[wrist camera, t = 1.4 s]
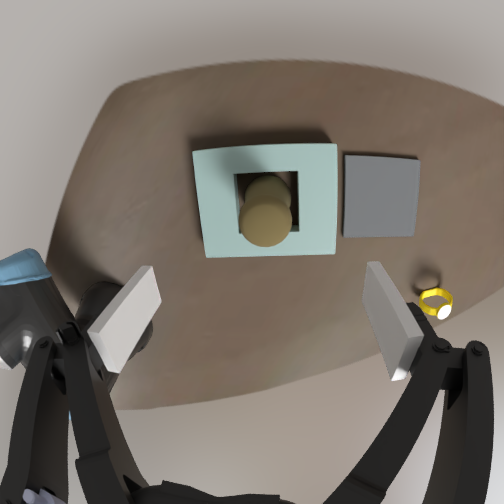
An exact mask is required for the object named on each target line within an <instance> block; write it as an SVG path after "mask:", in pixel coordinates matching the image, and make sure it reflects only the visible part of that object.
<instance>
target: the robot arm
mask: <svg viewBox="0 0 504 504" xmlns="http://www.w3.org/2000/svg"><path fill="white" fill-rule="evenodd" d="M51 276H52V274H51V272H49V271H48V269H47V267H46V265H45V264H44V262H43V260H42V258H41V256H40V254H39V253H38V252H37V251H36V250H34V249H30V248H29V249H25V250H23V251H20V252H18V253H15V254H13V255H11V256H9V257H7V258H5V259H3V260H1V261H0V368H4V369H9V370H12V369H13V368H14V367H15V366H16V365H17V364H18V363H20V362H21V363H22V365H23V366H24V367H25V369H26V372H25V376H24V379H23V383H22V386H21V390H20V394H19V398H18V402H17V407H16V411H15V416H14V421H13V427H12V433H11V440H10V447H9V455H8V465H7V468H6V471H5V474H4V476H3V479H2V482H1V485H0V504H68V494H69V493H68V461H67V459H68V458H67V456H68V453H67V451H68V424H69V420H71V421H72V426H73V431H74V436H75V440H76V444H77V448H78V452H79V456H80V457H79V459H76V460H75V465H76V470H77V473H78V476H79V480H80V483H81V486H82V489H83V492H84V495H85V498H86V500H87V503H88V504H295V503H293V502H289V501H286V500H282V499H280V495H265V494H244V495H236V496H227V497H216V496H213V495H210V494H207V493H205V492H202V491H200V490H197V489H195V488H192V487H190V486H186V485H182V484H177V483H173V482H169V481H164V480H163V481H162V484H161V485H155V486H149V484H148V483H147V482H146V480H145V479H144V478H143V477H142V475H141V473H140V471H139V469H138V467H137V465H136V463H135V461H134V458H133V456H132V454H131V452H130V449H129V447H128V445H127V442H126V440H125V438H124V435H123V432H122V430H121V427H120V424H119V421H118V419H117V416H116V413H115V410H114V407H113V404H112V401H111V398H110V392H111V390H112V388H113V386H114V384H115V382H116V380H117V378H118V376H119V374H120V372H121V370H122V368H123V367H124V365H125V363H126V362H127V361H128V360H130V359H131V358H132V357H133V356H134V355H135V354H136V353H137V352H140V351H141V350H142V349H144V348H145V346H146V345H147V343H148V342H149V340H150V338H151V336H152V332H153V326H152V321H151V318H152V317H153V315H154V313H155V312H156V310H157V309H158V307H159V305H160V304H161V298H160V294H159V291H158V287H157V283H156V279H155V275H154V271H153V267H152V266H141V267H140V268H139V270H138V271H137V272H136V273H135V274H134V275H133V276H132V278H131V279H130V280H129V281H128V282H127V283H126V284H125V286H124V287H123V288H122V287H120V286H118V285H116V284H113V283H108V282H100V283H96V284H94V285H92V286H91V287H90V288H89V289H88V290H87V291H86V292H85V293H84V295H83V296H82V299H81V302H80V306H79V308H78V310H77V313H76V315H75V318H74V316H73V314H72V313H71V311H70V310H69V308H68V306H67V305H66V303H65V301H64V299H63V298H62V296H61V294H60V292H59V290H58V288H57V287H56V285H55V283H54V281H53V279H52V277H51ZM362 303H363V305H364V308H365V310H366V313H367V315H368V318H369V320H370V323H371V325H372V328H373V331H374V333H375V336H376V339H377V341H378V344H379V347H380V350H381V352H382V355H383V358H384V361H385V364H386V367H387V370H388V373H389V376H390V379H391V381H394V380H400V379H405V378H406V376H407V374H408V372H409V370H410V373H411V375H412V377H411V379H410V381H409V383H408V385H407V387H406V389H405V391H404V393H403V394H402V396H401V398H400V400H399V402H398V403H397V405H396V407H395V408H394V410H393V412H392V413H391V415H390V417H389V418H388V420H387V422H386V423H385V425H384V426H383V428H382V430H381V431H380V433H379V434H378V436H377V437H376V438H375V440H374V441H373V443H372V444H371V446H370V447H369V449H368V450H367V451H366V453H365V454H364V455H363V457H362V458H361V459H360V461H359V462H358V463H357V465H356V466H355V467H354V469H353V470H352V471H351V472H350V473H349V475H348V476H347V477H346V478H345V479H344V480H343V482H342V483H341V484H340V485H339V486H338V487H337V489H336V490H335V491H334V492H333V493H332V494H331V495H330V496H329V497H328V498H327V500H326V501H325V502H324V503H323V504H380V503H381V502H382V500H383V499H384V497H385V495H386V491H387V489H388V487H389V486H390V484H391V483H392V481H393V480H394V478H395V477H396V475H397V474H398V472H399V470H400V469H401V467H402V465H403V464H404V462H405V461H406V459H407V457H408V455H409V453H410V452H411V450H412V448H413V446H414V444H415V443H416V440H417V439H418V437H419V435H420V433H421V431H422V429H423V427H424V424H425V422H426V420H427V418H428V416H429V414H430V411H431V409H432V407H433V405H434V402H435V400H436V397H437V395H438V392H439V390H441V389H442V390H445V396H444V406H443V415H442V422H441V429H440V436H439V441H438V446H437V451H436V456H435V461H434V465H433V469H432V473H431V477H430V480H429V484H428V487H427V491H426V494H425V497H424V500H423V503H422V504H484V503H485V499H486V494H487V489H488V483H489V477H490V470H491V461H492V451H493V435H494V404H493V403H494V401H493V385H492V374H491V364H490V357H489V351H488V348H487V347H486V346H485V344H483V343H482V342H479V341H471V342H469V343H468V344H467V346H466V348H465V349H462V348H453V347H452V346H451V344H450V343H449V342H448V341H447V340H445V339H443V338H439V337H438V336H437V335H436V333H435V331H434V330H433V328H432V326H431V325H430V323H429V321H427V318H426V316H425V315H424V313H423V312H422V310H421V309H420V307H418V306H417V305H416V304H415V303H413V302H411V303H405V301H404V300H403V298H402V296H401V295H400V293H399V291H398V290H397V288H396V287H395V285H394V283H393V282H392V280H391V279H390V277H389V276H388V274H387V272H386V271H385V269H384V268H383V266H382V265H381V263H380V262H379V261H375V262H367V269H366V276H365V283H364V289H363V295H362ZM279 500H280V501H279Z"/></svg>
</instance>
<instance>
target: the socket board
mask: <svg viewBox="0 0 504 504" xmlns="http://www.w3.org/2000/svg"><path fill="white" fill-rule="evenodd" d="M192 153H193V162H194V171H195V180H196V188H197V196H198V204H199V211H200V219H201V226H202V233H203V240H204V247H205V253H206V258H208V257H247V256H283V255H317V254H335V247H336V226H337V144H334V143H283V144H261V145H245V146H232V147H221V148H211V149H203V150H196V151H192ZM276 171H297V196H298V225H292V227H291V229H290V232H289V234H288V236H287V237H286V238H285V239H284V240H283V241H282V242H280V243H279V244H277V245H275V246H271V247H259V246H256V245H254V244H252V243H250V242H249V241H248V240H246V239H245V237H244V236H243V235H242V233H241V230H240V227H239V224H238V216H239V213H240V209H239V197H238V186H237V174H238V173H255V172H276Z"/></svg>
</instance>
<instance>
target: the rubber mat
mask: <svg viewBox="0 0 504 504" xmlns="http://www.w3.org/2000/svg"><path fill="white" fill-rule="evenodd" d="M344 164H345V179H344V220H343V237H344V238H345V237H398V236H414V230H415V222H416V214H417V205H418V194H419V179H420V160H416V159H405V158H393V157H379V156H359V155H344Z"/></svg>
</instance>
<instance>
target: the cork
mask: <svg viewBox="0 0 504 504" xmlns="http://www.w3.org/2000/svg"><path fill="white" fill-rule="evenodd" d="M290 204H291V193H290V189H289V187H288V186H287V184H286V183H285V182H284V181H283V180H281V179H280V178H278V177H275V176H270V175H264V176H261V177H258V178H256V179H254V180H253V181H252V182H251V183H250V184H249V185H248V187H247V189H246V192H245V204H244V205H243V206H242V208H241V210H240V213H239V216H238V224H239V227H240V230H241V233H242V235H243V236H244V237H245V239H246V240H248V241H249V242H250V243H252V244H254V245H256V246H259V247H271V246H275V245H277V244H279V243H280V242H282V241H283V240H284V239H285V238H286V237H287V236H288V234H289V232H290V229H291V227H292V216H291V212H290V209H289V207H290Z"/></svg>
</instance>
